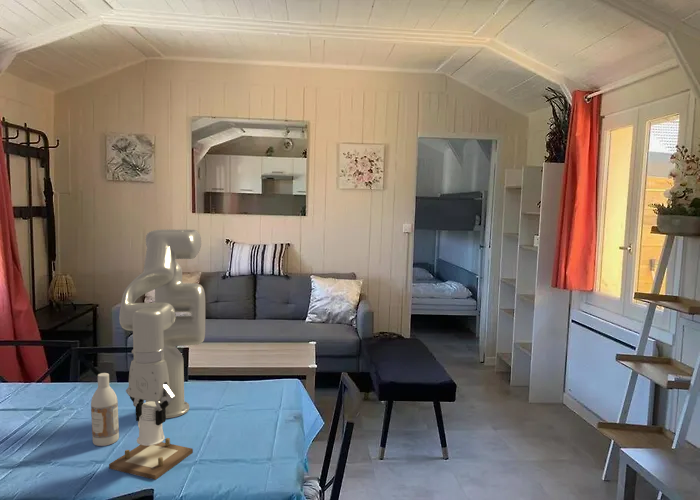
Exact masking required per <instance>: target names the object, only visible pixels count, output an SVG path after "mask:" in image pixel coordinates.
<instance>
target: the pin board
mask: <svg viewBox="0 0 700 500" xmlns="http://www.w3.org/2000/svg"><path fill="white" fill-rule="evenodd" d="M164 441H165V442H164ZM164 441H162V442H161V443H159V444H156V445H150V446H144V445H140V444H138V445H137V446H135V448H133V449H131V450H130V449H125V450H124V454H123V455H121V456H120V457H118V458H116V459H115V460H113V461H112V462H110V463H109V464H108V468H109V469H110V470H114V471H117V472H121V473H126V474H129V475H134V476H139V477H142V478H147V479H151V480H155V481H156V480H157V479H159V478H160V477H162V476H164V474H166V473H167V472H168V471H170V470H171V469H173V468H174V467H175V466H177V465H178V464H179V463H182V461H184V460H185V459H186V458H188V457H189V456H191V455H192V454H193V453H194V452H193V451H194V449H193V448H191V447H187V446H183V445H177V444H173V443H171V438H169V437H166V438H165V439H164Z"/></svg>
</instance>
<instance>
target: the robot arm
mask: <svg viewBox="0 0 700 500" xmlns="http://www.w3.org/2000/svg"><path fill="white" fill-rule="evenodd" d="M145 246H146V253H145V258H144V259H145V260H144V264H143V265H144V266H143V272H141V273H140V274H139V275H138V276H136V277H135V278H134V279H133V280H132V281H131V282H130V283H129V284H128V285H127V286H126V288H125V290H124V291H123V294H122V298H121V303H120V307H119V317H118V319H119V324H120V327H121V328H122V329H123V330H125V331H131V332H132V342H133V343H132V346H133V347H132V348H133V349H132V350H131V354H132V355H133V359H132V360H131V363H130V367H129V372H128V387H127V388H126V389H125V393H126V394H127V396H128V397H129V399H130V400H131V402H132V406H133V407H134V408H135V421H136V422H138V421H139V417H140V416H141V415H142V404H143V403H145V402H149V401H153V402H155V404H156V407H157V411H156V412H155V414H156V425H160V424H162V425H163V423H165V422H166V420H167V419H171V418H172V419H173V418H176V417H181V416H183V415H185V414H187V413H188V412H189V411H190V404H189V403H188V402H186V401H185V376H184V375H185V374H184V373H185V372H184V364H185V363H184V357H183V354H182V352H180V350H179V349H178V348H177V347H180V346H183V347H184V346H197V345H201V344H203V342H204V341H205V337H206V293H205V289H204V287H203V286H202V285H201V284H200V283H194V282H193V283H191V282H190V283H189V282H187V283H183V268H182V266H181V265H180V264H179V262H178V261H177V260H193V259H195V258H196V257H197V256H198V254H199V253H200V251H201V247H202V237H201V234H200V232H199V231H198V230H196V229H155V230H151V231H149V232H148V233H147V234H146V235H145ZM151 291H154V302H136V301H137V300H138V299H139V298H140V297H141V296H143V295H145V294H147V293H150V292H151ZM176 313H188V314H190V315H185V316H184V315H182V316H181V315H178V316H177V315H176Z"/></svg>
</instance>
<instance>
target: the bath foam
mask: <svg viewBox="0 0 700 500" xmlns="http://www.w3.org/2000/svg"><path fill="white" fill-rule="evenodd" d="M90 400H91V401H90V410H91V412H90V415H91V435H92V443H93V445H94V446H97V447H105V446H110V445H113V444H114V443H116V442H118V441H119V438H120V431H119V430H120V427H119V406H118V405H119V402H118V396H117V394H116V392H115V390H114V389H113V388H112V387H111V386H110V374H109V373H107V372H101V373H98V374H97V389H96V390H95V392H94V393H93V395H92V397H91V399H90Z"/></svg>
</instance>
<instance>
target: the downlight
mask: <svg viewBox="0 0 700 500" xmlns="http://www.w3.org/2000/svg"><path fill="white" fill-rule="evenodd" d="M156 411H157V407H156V404H155V402H153V401H149V402H146V401H144V403H143V404H142V415H141V416H140V417H139V421H137V425H138V430H139V431H138V432H139V433H138V437H137V438H136V443H137V444H138V445H144V446H150V445H156V444H159V443H161V442H164V441H165V439H166V438H165V437H166V436H165V434H164V430H163V423H162V424H160V425H156V414H155V412H156Z"/></svg>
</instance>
